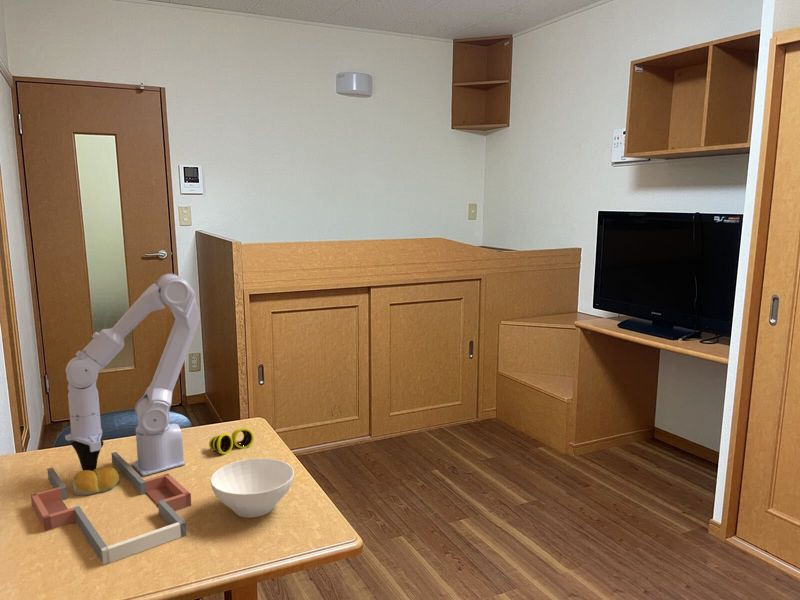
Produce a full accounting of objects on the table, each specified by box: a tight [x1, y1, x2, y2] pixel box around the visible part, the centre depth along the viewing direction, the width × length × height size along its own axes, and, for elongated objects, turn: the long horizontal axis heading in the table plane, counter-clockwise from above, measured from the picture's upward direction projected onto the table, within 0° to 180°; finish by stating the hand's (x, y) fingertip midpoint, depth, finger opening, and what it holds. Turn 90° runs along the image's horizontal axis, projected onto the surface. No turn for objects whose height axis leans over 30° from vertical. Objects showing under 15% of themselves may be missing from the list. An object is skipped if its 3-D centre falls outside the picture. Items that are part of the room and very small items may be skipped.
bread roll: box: [71, 466, 120, 496], centre depth 127 cm, size 8×9×4 cm
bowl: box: [210, 457, 295, 519], centre depth 118 cm, size 16×16×7 cm
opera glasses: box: [208, 427, 255, 456], centre depth 147 cm, size 10×5×5 cm, turn 134°
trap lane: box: [30, 451, 192, 566], centre depth 119 cm, size 24×41×2 cm, turn 41°
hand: (89, 472), depth 130 cm, fingers closed
